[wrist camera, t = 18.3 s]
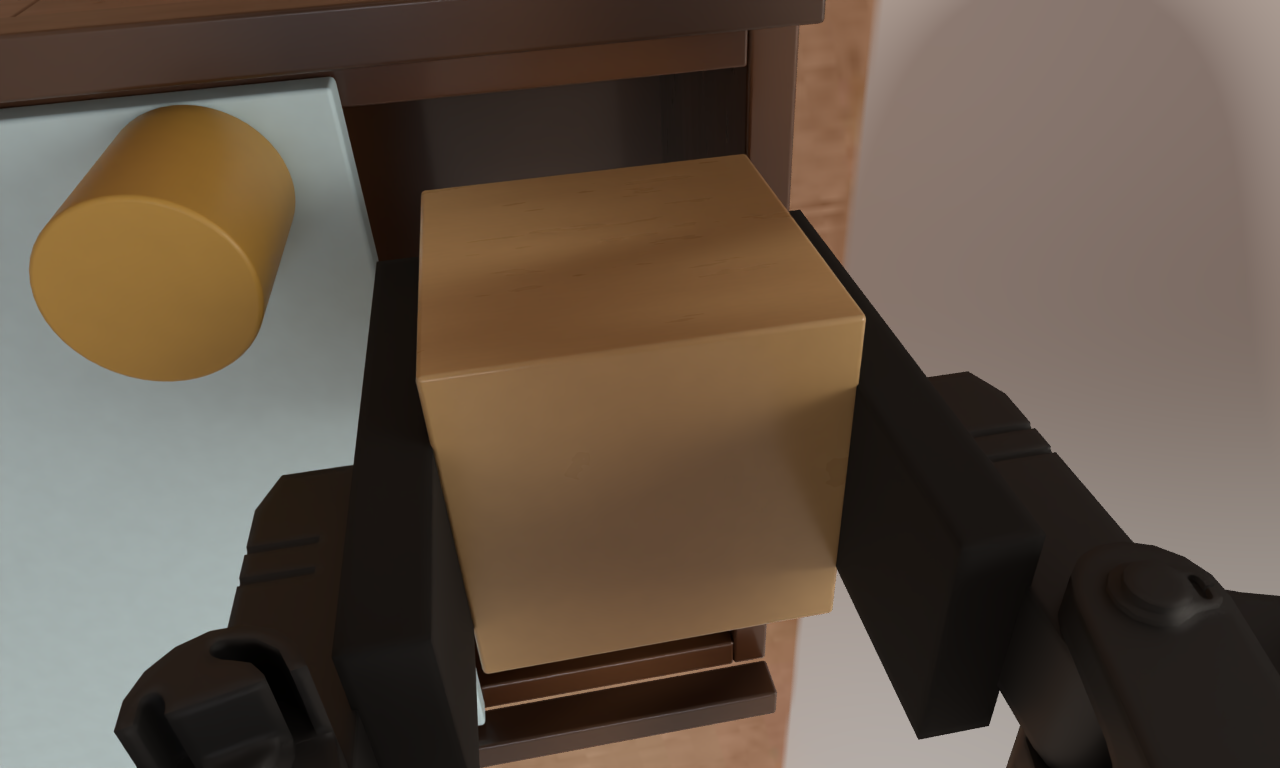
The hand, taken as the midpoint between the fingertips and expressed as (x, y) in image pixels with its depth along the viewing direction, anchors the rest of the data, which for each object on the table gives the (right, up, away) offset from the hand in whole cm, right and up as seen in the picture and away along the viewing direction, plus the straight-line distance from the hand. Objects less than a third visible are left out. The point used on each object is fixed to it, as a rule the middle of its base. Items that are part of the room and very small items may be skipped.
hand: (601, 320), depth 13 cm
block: (0, 0, 0) cm, 0 cm away
